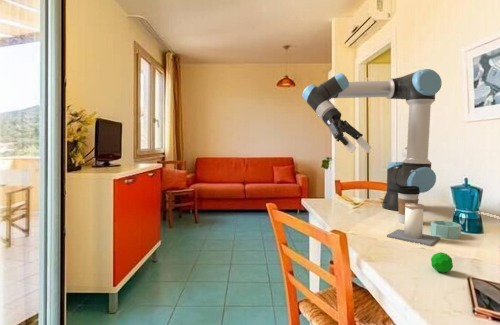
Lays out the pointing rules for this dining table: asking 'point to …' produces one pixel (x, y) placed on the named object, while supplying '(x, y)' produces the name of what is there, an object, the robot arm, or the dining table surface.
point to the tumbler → (413, 220)
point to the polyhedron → (441, 262)
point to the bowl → (445, 229)
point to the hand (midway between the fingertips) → (361, 150)
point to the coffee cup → (406, 199)
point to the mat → (424, 240)
